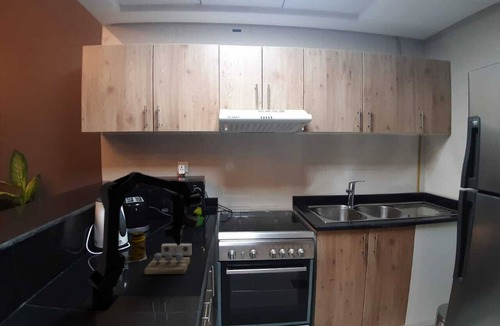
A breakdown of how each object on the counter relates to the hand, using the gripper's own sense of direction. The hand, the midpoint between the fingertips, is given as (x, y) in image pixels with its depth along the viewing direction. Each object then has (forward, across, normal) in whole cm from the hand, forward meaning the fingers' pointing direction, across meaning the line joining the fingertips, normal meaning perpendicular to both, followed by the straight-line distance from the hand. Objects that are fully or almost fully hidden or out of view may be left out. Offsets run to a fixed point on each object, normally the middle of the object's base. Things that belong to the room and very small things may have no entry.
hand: (178, 244), depth 94 cm
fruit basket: (+10, +58, +4) cm, 59 cm away
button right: (+8, 0, 0) cm, 8 cm away
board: (+10, 0, +4) cm, 11 cm away
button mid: (+8, 0, +4) cm, 9 cm away
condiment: (+10, +9, +22) cm, 26 cm away
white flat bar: (+10, +12, +4) cm, 16 cm away
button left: (+8, 0, +9) cm, 12 cm away
